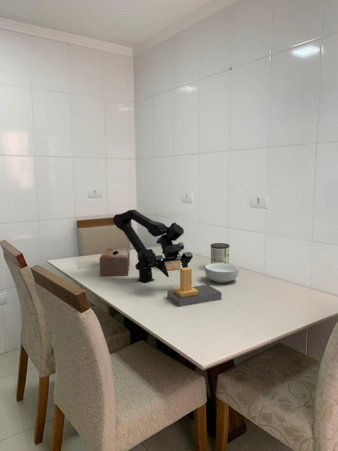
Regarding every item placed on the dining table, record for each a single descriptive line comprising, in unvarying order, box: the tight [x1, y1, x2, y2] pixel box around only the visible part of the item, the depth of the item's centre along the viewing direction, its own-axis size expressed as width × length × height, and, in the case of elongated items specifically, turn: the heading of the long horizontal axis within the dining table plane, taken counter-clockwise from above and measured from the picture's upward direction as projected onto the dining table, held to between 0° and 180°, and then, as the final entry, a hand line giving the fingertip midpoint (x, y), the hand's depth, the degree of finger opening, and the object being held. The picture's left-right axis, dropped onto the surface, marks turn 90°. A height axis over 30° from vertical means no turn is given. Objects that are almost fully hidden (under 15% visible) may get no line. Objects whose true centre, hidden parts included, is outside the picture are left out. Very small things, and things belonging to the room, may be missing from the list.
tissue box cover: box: [99, 247, 131, 278], centre depth 198 cm, size 26×14×10 cm, turn 4°
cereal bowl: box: [204, 263, 240, 284], centre depth 177 cm, size 17×17×7 cm
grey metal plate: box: [166, 284, 222, 307], centre depth 152 cm, size 12×20×3 cm, turn 114°
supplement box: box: [165, 250, 182, 271], centre depth 198 cm, size 8×5×13 cm, turn 105°
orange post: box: [172, 267, 199, 297], centre depth 150 cm, size 8×8×13 cm
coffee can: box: [210, 242, 230, 264], centre depth 196 cm, size 10×10×14 cm
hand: (177, 275), depth 157 cm, fingers open, 9 cm apart
